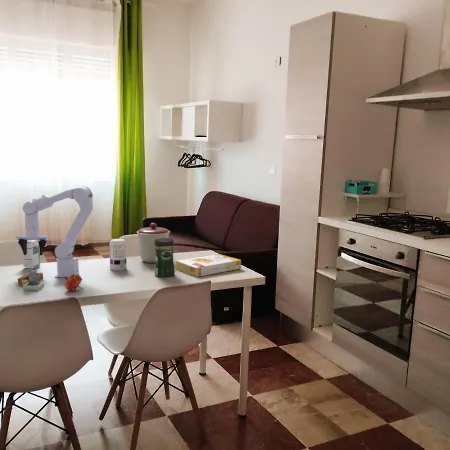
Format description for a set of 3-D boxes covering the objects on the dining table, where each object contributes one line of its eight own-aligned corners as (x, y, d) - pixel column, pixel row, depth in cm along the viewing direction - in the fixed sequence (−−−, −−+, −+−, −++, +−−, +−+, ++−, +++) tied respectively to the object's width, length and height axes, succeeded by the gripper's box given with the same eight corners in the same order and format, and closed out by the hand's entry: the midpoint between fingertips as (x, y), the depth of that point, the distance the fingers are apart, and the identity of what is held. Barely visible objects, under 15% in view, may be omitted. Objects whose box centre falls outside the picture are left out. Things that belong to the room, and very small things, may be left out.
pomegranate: (81, 292, 209) (62, 279, 207) (90, 280, 208) (71, 267, 206) (76, 299, 202) (57, 286, 200) (86, 286, 201) (66, 273, 199)
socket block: (43, 279, 222) (42, 272, 221) (33, 285, 211) (33, 279, 210) (28, 278, 222) (27, 272, 221) (18, 285, 211) (17, 278, 210)
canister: (172, 263, 256) (172, 225, 252) (138, 265, 251) (137, 226, 248) (167, 256, 273) (167, 220, 270) (135, 258, 268) (135, 221, 265)
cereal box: (241, 259, 245) (196, 266, 228) (241, 269, 246) (196, 277, 229) (218, 253, 261) (174, 259, 244) (218, 263, 262) (174, 270, 245)
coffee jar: (171, 272, 238) (171, 235, 235) (176, 276, 231) (176, 238, 228) (152, 274, 234) (152, 237, 231) (156, 278, 227) (156, 239, 224)
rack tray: (44, 286, 210) (43, 281, 209) (38, 290, 203) (38, 285, 203) (29, 286, 210) (29, 281, 209) (23, 290, 203) (23, 285, 203)
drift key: (33, 282, 215) (33, 277, 215) (28, 286, 210) (27, 280, 210) (27, 282, 215) (26, 276, 215) (21, 286, 210) (21, 280, 210)
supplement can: (106, 269, 241) (106, 240, 239) (116, 266, 248) (115, 238, 246) (120, 271, 238) (119, 242, 236) (129, 267, 245) (129, 239, 243)
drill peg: (36, 285, 209) (35, 270, 208) (37, 287, 206) (37, 271, 205) (28, 286, 207) (27, 271, 206) (30, 288, 205) (29, 272, 204)
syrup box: (33, 269, 239) (32, 241, 237) (23, 268, 240) (21, 240, 238) (40, 266, 245) (38, 239, 242) (29, 266, 246) (28, 238, 244)
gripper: (50, 225, 229) (51, 253, 231) (20, 225, 229) (21, 252, 231) (44, 228, 222) (46, 256, 224) (13, 227, 222) (15, 255, 224)
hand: (33, 254), depth 227 cm, fingers open, 7 cm apart
